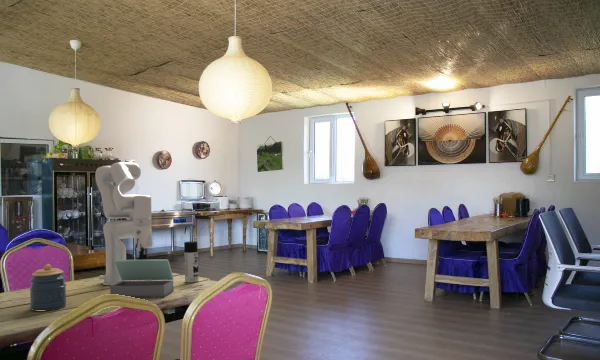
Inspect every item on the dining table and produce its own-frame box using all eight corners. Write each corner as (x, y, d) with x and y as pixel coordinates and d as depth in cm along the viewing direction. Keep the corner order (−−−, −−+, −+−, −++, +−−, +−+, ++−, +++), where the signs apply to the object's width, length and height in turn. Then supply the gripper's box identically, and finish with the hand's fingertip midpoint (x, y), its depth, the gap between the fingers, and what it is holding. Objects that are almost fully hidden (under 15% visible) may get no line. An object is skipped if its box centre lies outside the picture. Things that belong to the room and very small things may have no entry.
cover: (114, 261, 208) (115, 259, 209) (121, 280, 215) (122, 278, 216) (167, 260, 207) (168, 259, 208) (173, 279, 214) (173, 278, 215)
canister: (27, 313, 180) (27, 267, 180) (32, 306, 192) (31, 263, 192) (65, 309, 185) (64, 264, 186) (67, 302, 197) (66, 260, 197)
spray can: (195, 283, 232) (194, 242, 232) (182, 282, 233) (181, 242, 234) (200, 280, 239) (199, 241, 239) (188, 280, 240) (187, 241, 240)
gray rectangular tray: (110, 298, 204) (110, 286, 204) (122, 291, 215) (122, 280, 216) (164, 297, 202) (164, 285, 202) (173, 291, 214) (173, 280, 214)
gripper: (144, 223, 203) (145, 266, 203) (156, 221, 218) (157, 260, 218) (127, 224, 204) (128, 266, 204) (141, 221, 219) (141, 260, 218)
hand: (143, 263), depth 211 cm, fingers closed
